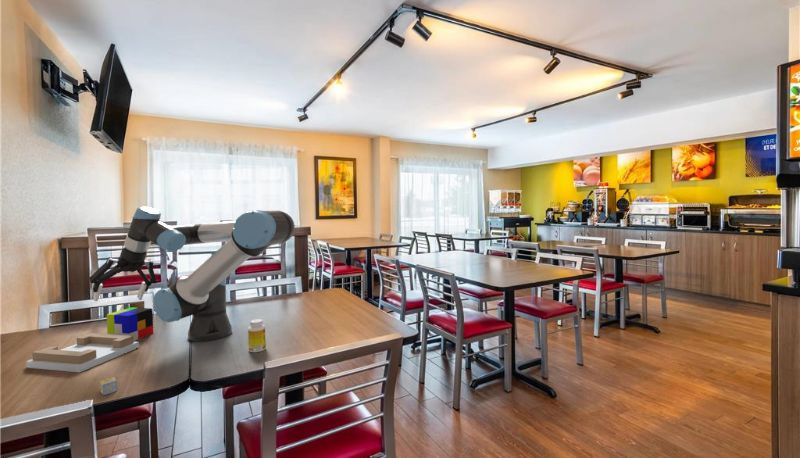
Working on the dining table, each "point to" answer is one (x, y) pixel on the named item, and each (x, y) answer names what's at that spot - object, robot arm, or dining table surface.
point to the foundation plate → (100, 358)
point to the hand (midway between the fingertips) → (118, 298)
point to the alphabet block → (108, 386)
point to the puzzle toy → (131, 322)
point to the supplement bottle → (256, 336)
